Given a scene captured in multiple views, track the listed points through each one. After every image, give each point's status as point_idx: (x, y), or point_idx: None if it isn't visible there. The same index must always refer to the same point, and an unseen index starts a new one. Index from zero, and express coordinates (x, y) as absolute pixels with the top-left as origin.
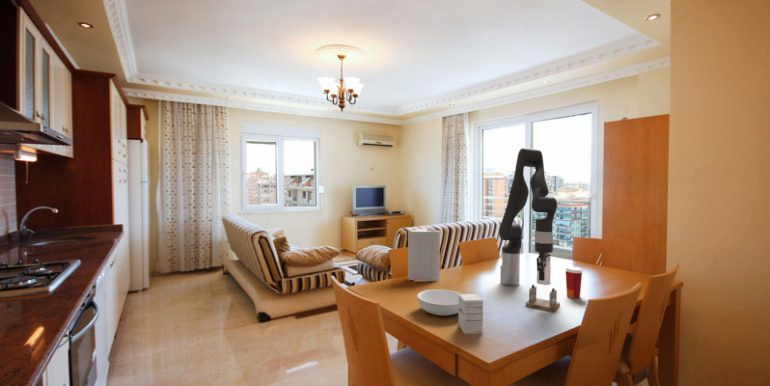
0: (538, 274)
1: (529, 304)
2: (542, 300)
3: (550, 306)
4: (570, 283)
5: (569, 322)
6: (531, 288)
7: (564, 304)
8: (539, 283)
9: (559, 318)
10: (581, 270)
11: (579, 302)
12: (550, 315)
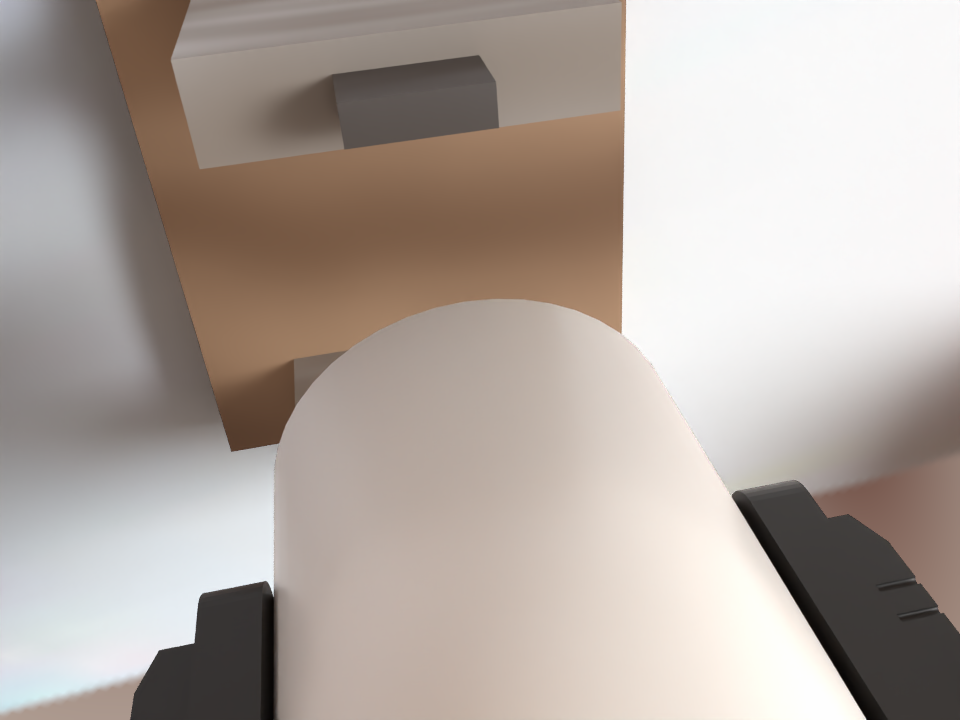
0: (300, 683)
1: (107, 20)
2: (541, 138)
3: (289, 377)
4: None
5: (6, 665)
6: (290, 90)
7: (721, 368)
8: (276, 461)
9: (30, 555)
10: None
11: (927, 452)
12: (29, 442)
